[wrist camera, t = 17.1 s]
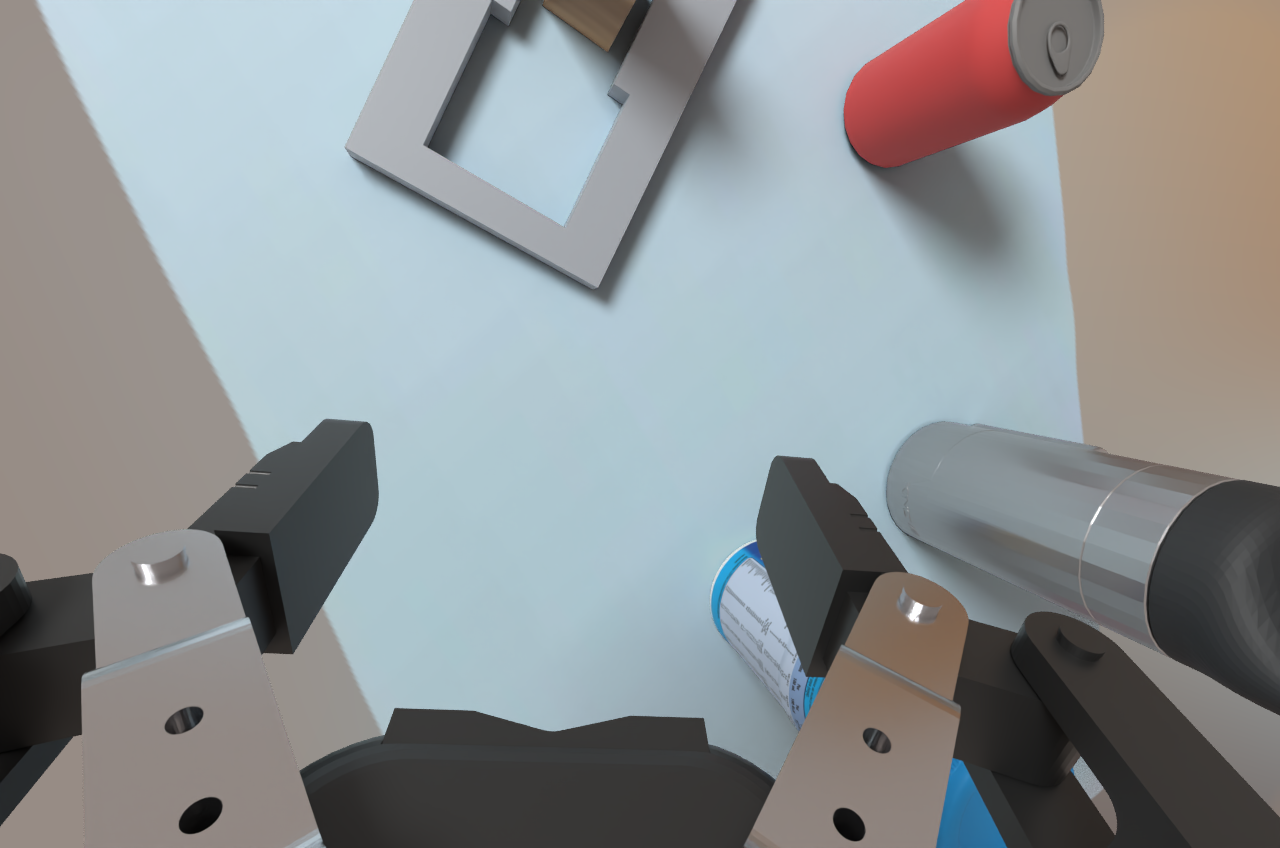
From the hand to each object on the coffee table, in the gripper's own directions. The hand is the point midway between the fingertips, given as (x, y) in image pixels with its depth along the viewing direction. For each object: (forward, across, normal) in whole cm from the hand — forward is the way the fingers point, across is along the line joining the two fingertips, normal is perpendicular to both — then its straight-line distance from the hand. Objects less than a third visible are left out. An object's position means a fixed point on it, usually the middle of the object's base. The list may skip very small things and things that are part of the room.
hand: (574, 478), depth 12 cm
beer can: (+32, -18, -10) cm, 38 cm away
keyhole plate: (+27, +3, -10) cm, 29 cm away
